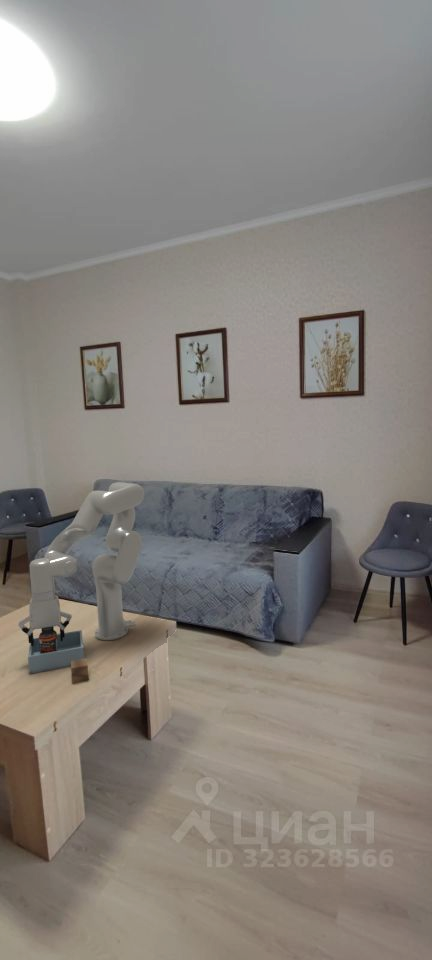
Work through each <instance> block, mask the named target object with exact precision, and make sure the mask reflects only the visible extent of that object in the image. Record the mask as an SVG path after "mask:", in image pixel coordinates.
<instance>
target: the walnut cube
mask: <svg viewBox="0 0 432 960" xmlns="http://www.w3.org/2000/svg"><path fill="white" fill-rule="evenodd" d="M70 670H71V683H72V684H75V683H80V682H85V681H89V665H88V658H87V657H86V658H85V657H84V659H79V660H73V661H71V666H70Z"/></svg>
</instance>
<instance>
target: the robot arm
mask: <svg viewBox="0 0 432 960" xmlns="http://www.w3.org/2000/svg"><path fill="white" fill-rule="evenodd" d="M144 498H145V490H144V488H143V487H142V486H141V485H140V484H137V483H131V482H123V481H121V482H118V481H117V482H113V483H111V484H110V485H109V488H108V490H107V491H106V490H93V491H90V492H89V493H88V494H87V496H86V498H85V499H84V501H83V502H82V504H81V506H80V507H79V510H78V511H77V513H76V515H75V517H74V519H73V520H72V521H71V523H70V524H69V525H68V526H66V528H65V529H63V530H62V531H61V532H60V533H59V534H58V535H57V536H56V537H55V538H54V539H53V540H52V542H51V543H50V545H49V546H48V549H47V550H46V552H45V554H44V557H42V558H36V559H33V560H31V561H30V563H29V574H30V575H29V576H30V587H31V589H30V591H31V592H30V593H31V598H30V599H29V608H28V611H29V612H28V613H29V615H28V616H27V617H25V618H24V619H22V620H20V621H19V622H18V627H19V628H20V629H21V631H22V632H23V633H25V634H26V636H28V637H27V639H28V643H29V644H30V643H31V646H33V644H34V639H33V638H34V630H39V629H40V630H42V629H41V628H47V627H53V626H54V627H58V628H59V634H60V640H61V641H63V638H64V637H65V634H64V633H65V630H66V628H67V626H69V624H70V621H71V620H72V614H70V613H68V612H64V611H61V604H60V601H59V596H58V595H57V594H60V589H58V588H57V589H56V587H55V579H58V578H59V579H60V578H67V577H70V576H72V575H74V574H75V573H76V572H77V570H78V568H79V563H78V560H77V559H76V558H75V557H74V556H71V555H69V554H67V553H68V552H69V550H70V549H71V547H73V546H74V545H75V544H77V543H78V542H79V541H81V540H84V539H87V538H89V537H90V536H92V535H93V534H94V533H95V531H96V529H97V527H98V525H99V524H100V521H101V520H102V518H103V516H104V515H108V516H109V515H110V516H111V515H112V520H111V523H110V526H109V529H108V531H107V534H106V537H105V542H104V543H105V544H104V545H105V547H106V548H107V550H109V551H111V552H113V553H117V554H116V555H113V554H110V553H109V554H108V553H103V554H100V555H98V556H96V558H95V559H94V560H93V563H92V566H91V567H92V574H93V578H94V584H95V589H96V591H95V592H96V605H97V607H96V608H97V622H98V623H97V625H98V628H97V629H96V630H95V631H94V636H95V638H97V639H98V640H101V641H112V640H117V639H121V638H122V637H125V636H126V635H127V634H128V632H129V629H128V628H133V627H136V621H135V620H134V621H132V619H128V620H125V619H124V615H123V614H124V612H123V609H124V608H123V596H122V595H123V594H122V593H123V592H122V591H123V590H122V585H123V584H126V583H128V581H130V580H131V578H132V577H133V574H134V573H135V570H136V569H135V568H136V566H137V563H138V560H139V558H140V554H141V551H142V548H143V540H142V537H141V534H140V533H138V532H137V531H135V530H133V528H134V524H135V520H136V510H135V507H137V506H139V505H140V504H141V503H142V502H143V501H144ZM62 618H65V621H64V622H62ZM27 623H29V628H28V627H27V626H25V625H26V624H27Z"/></svg>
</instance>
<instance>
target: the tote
mask: <svg viewBox="0 0 432 960" xmlns="http://www.w3.org/2000/svg"><path fill="white" fill-rule="evenodd" d="M64 634H65V637H64V638H63V641H61V640H60V633H57V643H58V651H54V652H48V653H43V654H40V645H39V636H37V637H33V639H34V644H33V646H31V643H29V646H28V647H29V648H28V655H27V656H28V657H27V661H28V670H29V671H28V673H29V674H36V673H41V672H47V671H50V670H51V671H52V670H56V669H57V670H58V669H62V668H67V667H71V661H73V660H79V659H84V658H85V652H84V651H85V649H84V642H83V641H84V640H83V630H82V629H79V630H72V631H67V632H64Z"/></svg>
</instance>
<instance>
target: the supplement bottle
mask: <svg viewBox="0 0 432 960" xmlns="http://www.w3.org/2000/svg"><path fill="white" fill-rule="evenodd" d="M54 627H55V626H53V627H47V628H41V629H40V630H41V632H40V633H39V635H38V637H39V645H40V654H43V653H48V652H54V651H58V643H57V634H58V633H57V630H55V628H54Z"/></svg>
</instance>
